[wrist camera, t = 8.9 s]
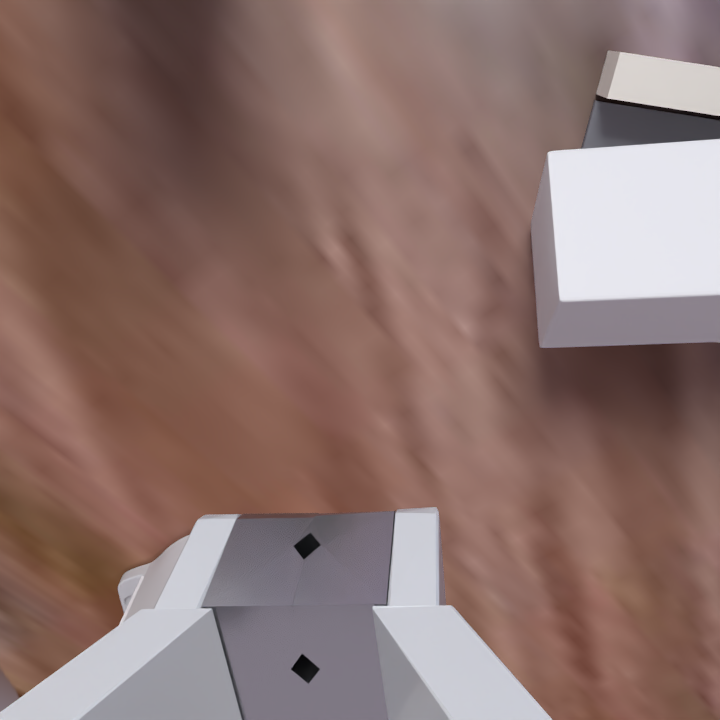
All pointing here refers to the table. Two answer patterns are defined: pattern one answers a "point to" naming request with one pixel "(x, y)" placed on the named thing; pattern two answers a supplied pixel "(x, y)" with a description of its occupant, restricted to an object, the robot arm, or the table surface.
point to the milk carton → (628, 245)
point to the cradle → (653, 102)
